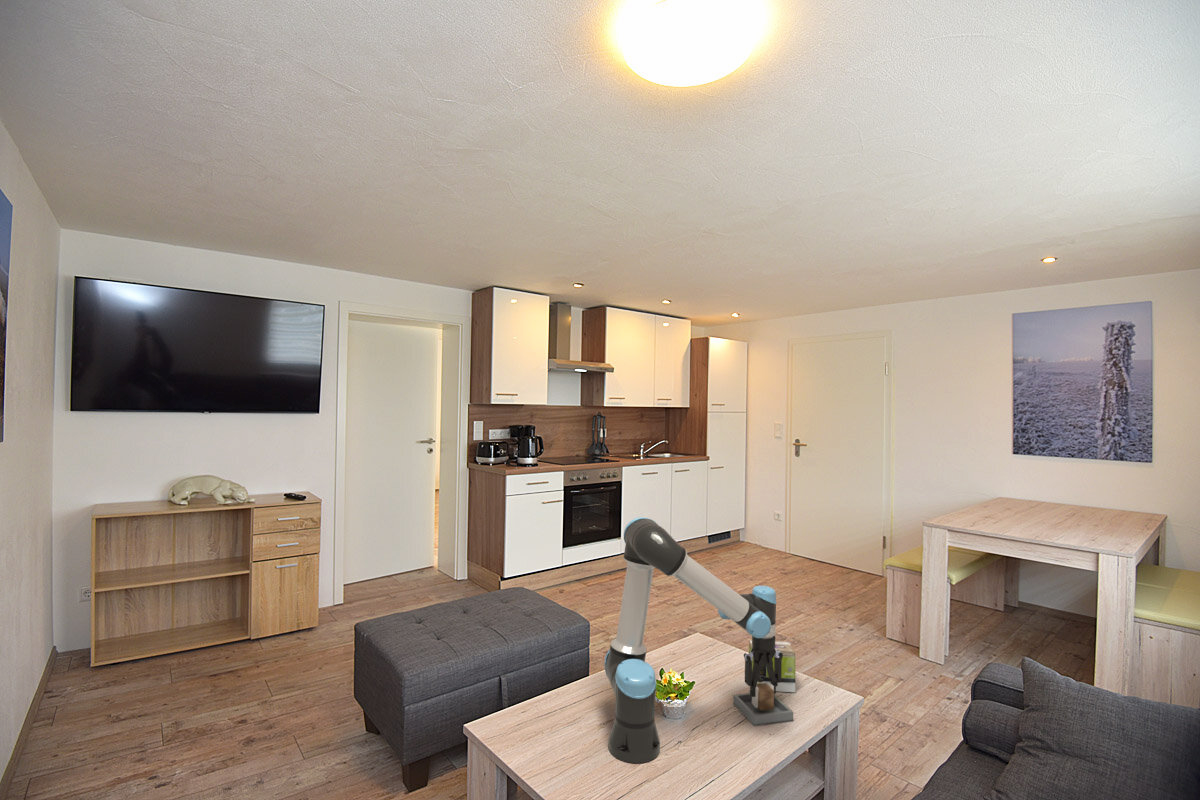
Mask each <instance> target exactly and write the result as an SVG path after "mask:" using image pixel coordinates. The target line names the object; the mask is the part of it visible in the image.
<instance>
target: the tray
mask: <svg viewBox="0 0 1200 800" xmlns="http://www.w3.org/2000/svg"><path fill="white" fill-rule="evenodd" d="M732 703H733V705H734V707H736V708H737V710H738V711H740V712H741V714H742V716H744V717H745V718H746V719H747V720H748V721H749V722H750V723H751V724H752V726H754V727H757V726H758V727H760V726H766V725H774V724H782V723H790V722H794V711H793V709H791V708H790V707H789V706H787V704H785V703H784V702H783V701H782V700H781V699H780V698H779V697H778V696H776V694H774V709H769V710H761V711H760V710H759V709H758V708H756V707H755V706H754V705H753V704H752V696H751V695H750V692H746V693H737V694H733V702H732Z"/></svg>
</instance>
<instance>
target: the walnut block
mask: <svg viewBox="0 0 1200 800" xmlns="http://www.w3.org/2000/svg"><path fill="white" fill-rule="evenodd" d="M756 686H757V687H758V709H759V710H760V711H761V710H769V709H774V695H775V694H774V690H773V689H772V688H770V687H769V686H768V685H767V684H766V683H764V684H757V685H756Z"/></svg>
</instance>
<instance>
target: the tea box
mask: <svg viewBox="0 0 1200 800" xmlns="http://www.w3.org/2000/svg"><path fill="white" fill-rule="evenodd" d="M751 650H752V639H749V640H748V654H749V653H751ZM775 650H776V651H777V650H779V651H780V652H781V653H783V657H782V667H781V683H777V684H778V686H776V692H778V693H779V692H780V693H781V692H783V693H796V692H797V691H796V685H797V683H796V682H797V681H796V651H795V650H794V648H793V646H792V645H791V643H790V641H787V640H786V641H784V640H783V641H782V640H775ZM774 657H775V656H774ZM774 657H773V658H772V661H773V669H774ZM752 659H753V660H752V669H753V665H754V663H753V661H754V657H752ZM767 682H770V680H769V676H768V671H767V667H766V663H764V664H762V667H761V668H760V673H759V677H758V681H757V684H764V683H766V684H767Z"/></svg>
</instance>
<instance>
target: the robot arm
mask: <svg viewBox="0 0 1200 800" xmlns="http://www.w3.org/2000/svg"><path fill="white" fill-rule="evenodd" d="M623 540H624V544H625V546H624V552H623V560H624V561H625V563H626V564H627V565H626V572H625V577H624V584H623V592H622V597H621V604H620V611H619V617H618V626H617V629H616V630H617V632H616V637H615V638H614V639H612V640H611V642H610V647H609V649H608V651H607V652H606V654H605V657H604V662H603V663H604V671H605V674H606V677H607V679H608V681H609V683H610V685H611V688H612V690H613V693H614V695H615V703H614V704H615V711H614V713H615V715H614V721H613V724H612V726H611V727H612V728H611V731H610V733H609V737H608V750H609V752H610V754H611V755H612V756H614V757H615V758H616V759H618V760H620V761H623V762H626V763H630V764H643V763H648V762H650V761H653V760H654V759H656V758H657V756H659V754H660V751H661V740H660V736H659V732H658V730H657V726H656V723H655V713H656V712H655V711H656V709H655V708H656V687H657V680H656V679H657V678H656V673H655V669H654V667H653V666H652V665H651V664H650V663H648V662H646V656H647V647H646V645H645V644H644V636H645V631H646V623H647V617H648V610H649V605H650V604H649V603H650V596H651V590H652V584H653V583H652V582H653V575H654V570H655V569H656V570H658V571H660V572H661V573H663V574H664V575H666V576H667V577H674V578H675V579H676V580H678V581H680V582H681V583H682V585H683V584H684V585H685V586H686V587H687V588H689V589H690V590H691V591H693V592H694V593H696V595H698V596H699V597H701V598H702V599H703V600H705V601H706V602H707V603H709V604H710V605H711V606H713V607H714V608H716V609H717V612H718V613H717V614H719V615H718V616H719V618H721V619H722V620H731V621H732V622H734V623H735V624H736V625H738V626H739V627H740V628H742V629H743V630H744V631H746V632H747V634H749V635H750V636H751V640H752V650H751V653H749V652H748V653H746V652H745V653H744V654H743V658H744V683H745V684H746V685H747V686H748V687H749V693H750V695H751V696H752V704H753V705H754V706H755V707H756V708H758V687H757V686H756V685H757V681H758V677H759V673H760V668H761V667H762V664H764V663H766V667H767V671H768V676H769V680H770V682H767V685H768V686H769V687H770V688H772V689H773V690H774V695H776V692H777V691H776V686H778V684H777V683H781V667H782V657H783V653H781V652H780V651H779V650H777V651H776V650H775V641H776V624H777V623H776V621H777V620H776V619H777V618H776V616H777V592H776V591H775V588H772V587H770V586H767V585H757V586H755V585H754V587H753V588H752V592H751V593H743V594H742V593H741V594H739V593H738V592H736V591H735V590H734V589H733V588H732V587H730V586H729V585H728V584H726V583H725V582H724V581H722V580H721V579H720V578H718V577H717V576H716V575H715V574H713V573H712V572H710V571H709V570H708V569H706V568H705V567H703V566H702V565H701V564H700V563H698V562H697V561H696V560H695V559H693V558H692V557H691V556H689V555H688V551H687V550H686V548H684V546H682V545H681V544H679V543H678V542H677V541H676V540H675V539H674V537H673V536H671V535H670V534H669V532H668V531H667V530H666V529H664V527H662V526H661V525H659V524H658V523H657V522H656V521H654V520H653V519H651V518H647V517H644V516H643V517H642V516H641V517H636V518H633V519H631V520H630V521H629V522H628V523H627V524H626V526H625V527H624V531H623ZM774 656H775V657H774ZM752 657H754V661H753V663H754V665H753V669H752V660H753V659H752ZM773 657H774V669H773V661H772V658H773Z"/></svg>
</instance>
